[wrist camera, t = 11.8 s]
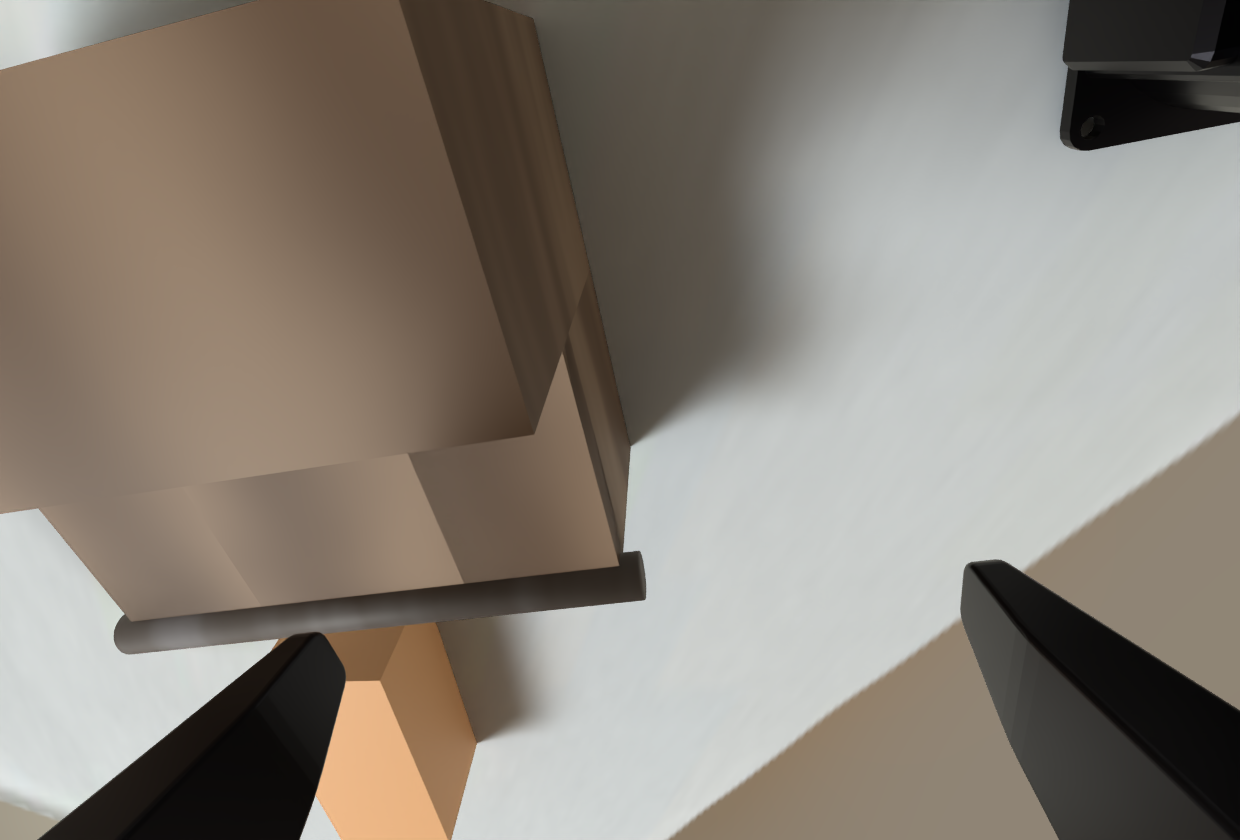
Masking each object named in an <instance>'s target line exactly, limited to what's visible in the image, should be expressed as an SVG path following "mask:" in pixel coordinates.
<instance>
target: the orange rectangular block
mask: <svg viewBox="0 0 1240 840" xmlns="http://www.w3.org/2000/svg"><path fill="white" fill-rule="evenodd" d="M324 635H325V636H326V638H327V639H328V641H329V642H330V644H331V646H332V647H333V649H334V651H335V652H336V654H337V656H338V657H339V659H340V660H341V662H342V664H343V665H344V668H345V671H346V683H345V688H344V692H343V696H342V699H341V703H340V707H339V711H338V715H337V718H336V722H335V726H334V730H333V734H332V737H331V741H330V745H329V749H328V753H327V757H326V760H325V764H324V768H323V772H322V775H321V778H320V782H319V785H318V789H317V792H316V797H317V799H318V800H319V802H320V804H321V805H322V807H323V809H324V810H325V812H326V814H327V816H328V817H329V819H330V821H331V822H332V824H333V826H334V828H335V829H336V831H337V833H338V834H339V836H340V838H341V840H451V838H452V835H453V831H454V827H455V823H456V820H457V816H458V812H459V808H460V805H461V801H462V797H463V793H464V790H465V786H466V782H467V778H468V775H469V771H470V767H471V763H472V760H473V756H474V752H475V748H476V745H477V742H476V739H475V736H474V734H473V731H472V728H471V725H470V722H469V719H468V716H467V713H466V710H465V707H464V704H463V701H462V698H461V695H460V692H459V689H458V686H457V683H456V680H455V677H454V674H453V671H452V668H451V665H450V662H449V660H448V657H447V654H446V651H445V648H444V645H443V642H442V639H441V636H440V633H439V630H438V627H437V624H436V622H433V623H423V624H414V625H405V626H395V627H386V628H376V629H367V630H357V631H348V632H338V633H329V634H324ZM286 639H287V638H281V639H279V640H278V641H277V643H276V644H275V646H274V647H273V649H274V648H276V647H277V646H278V645H279V644H281V643H282V642H283V641H284V640H286ZM273 649H272V650H273ZM272 650H271V651H272Z"/></svg>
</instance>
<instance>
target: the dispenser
mask: <svg viewBox="0 0 1240 840" xmlns="http://www.w3.org/2000/svg"><path fill="white" fill-rule="evenodd" d="M630 449H631V447H630V443H629V438H628V434H627V430H626V425H625V421H624V416H623V412H622V408H621V403H620V399H619V394H618V390H617V385H616V381H615V377H614V372H613V368H612V363H611V359H610V355H609V350H608V346H607V341H606V337H605V333H604V328H603V324H602V319H601V315H600V310H599V306H598V302H597V297H596V293H595V288H594V284H593V280H592V275H591V271H590V266H589V262H588V258H587V253H586V249H585V244H584V240H583V235H582V231H581V227H580V222H579V218H578V213H577V209H576V205H575V200H574V196H573V191H572V187H571V183H570V178H569V174H568V169H567V165H566V160H565V156H564V152H563V147H562V143H561V138H560V134H559V130H558V125H557V121H556V116H555V112H554V108H553V103H552V99H551V94H550V90H549V85H548V81H547V77H546V72H545V68H544V63H543V59H542V55H541V50H540V46H539V41H538V37H537V33H536V28H535V24H534V19H533V18H530V17H527V16H524V15H522V14H519V13H516V12H514V11H511V10H508V9H506V8H503V7H500V6H497V5H495V4H492V3H489V2H487V1H484V0H257V1H253V2H249V3H246V4H242V5H238V6H235V7H231V8H227V9H224V10H220V11H216V12H212V13H209V14H205V15H201V16H198V17H194V18H190V19H187V20H183V21H179V22H176V23H172V24H168V25H165V26H161V27H157V28H153V29H150V30H146V31H142V32H139V33H135V34H131V35H128V36H124V37H120V38H117V39H113V40H109V41H106V42H102V43H98V44H95V45H91V46H87V47H83V48H80V49H76V50H72V51H69V52H65V53H61V54H58V55H54V56H50V57H47V58H43V59H39V60H36V61H32V62H28V63H24V64H21V65H17V66H13V67H10V68H6V69H2V70H0V514H3V513H9V512H16V511H23V510H30V509H36V508H39V510H40V511H41V512H42V513H43V515H44V516H45V517H46V518H47V519H48V521H49V522H50V523H51V524H52V526H53V527H54V528H55V529H56V530H57V532H58V533H59V534H60V535H61V537H62V538H63V539H64V540H65V541H66V543H67V544H68V545H69V546H70V548H71V549H72V550H73V551H74V552H75V554H76V555H77V556H78V557H79V559H80V560H81V561H82V562H83V563H84V565H85V566H86V567H87V568H88V569H89V571H90V572H91V573H92V574H93V576H94V577H95V578H96V579H97V580H98V582H99V583H100V584H101V585H102V587H103V588H104V589H105V590H106V591H107V593H108V594H109V595H110V596H111V598H112V599H113V600H114V601H115V602H116V604H117V605H118V606H119V607H120V609H121V610H122V611H123V612H124V613H125V614H124V615H123V616H122V617H121V618H120V620H119V621H118V623H117V625H116V627H115V630H114V642H115V645H116V647H117V648H118V649H119V650H120V651H121V652H122V653H125V654H139V653H148V652H158V651H167V650H177V649H186V648H196V647H205V646H215V645H224V644H234V643H243V642H253V641H262V640H272V639H281V638H288V637H290V636H292V635H294V634H298V633H307V632H320V633H322V634H329V633H338V632H348V631H357V630H367V629H376V628H386V627H395V626H405V625H414V624H423V623H433V622H442V621H452V620H461V619H471V618H480V617H490V616H499V615H509V614H518V613H528V612H537V611H547V610H556V609H566V608H575V607H585V606H594V605H604V604H613V603H623V602H632V601H642V600H645V599H646V578H645V570H644V564H643V559H642V555H641V553H640V551H633V552H625V553H623V545H624V532H625V518H626V504H627V490H628V476H629V462H630Z"/></svg>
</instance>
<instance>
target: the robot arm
mask: <svg viewBox="0 0 1240 840" xmlns="http://www.w3.org/2000/svg"><path fill="white" fill-rule="evenodd" d="M1063 61H1064V63H1065V64H1066V65H1067V66H1068V72H1067V80H1066V88H1065V95H1064V103H1063V111H1062V118H1061V126H1060V139H1061V141H1062V142H1063V144H1064V145H1065V146H1067V147H1069V148H1071V149H1076V150H1083V151H1089V150H1094V149H1100V148H1105V147H1110V146H1115V145H1121V144H1126V143H1131V142H1136V141H1142V140H1147V139H1152V138H1157V137H1162V136H1168V135H1173V134H1178V133H1183V132H1189V131H1194V130H1199V129H1204V128H1210V127H1215V126H1220V125H1225V124H1230V123H1236V122H1240V0H1070V2H1069V10H1068V18H1067V26H1066V34H1065V42H1064V50H1063ZM1090 117H1093V118H1094V126H1093V129H1092V130H1091V132H1090V133H1089V134H1088V135H1086V136H1084V137H1082V136H1081V128H1082V125H1083V123H1084V122H1085V121H1086V120H1087V119H1088V118H1090ZM960 610H961V618H962V622H963V625H964V628H965V631H966V633H967V636H968V639H969V641H970V644H971V646H972V648H973V651H974V653H975V656H976V659H977V662H978V664H979V667H980V669H981V672H982V674H983V677H984V679H985V682H986V685H987V687H988V690H989V692H990V695H991V697H992V700H993V703H994V705H995V708H996V710H997V713H998V715H999V718H1000V721H1001V723H1002V725H1003V728H1004V730H1005V733H1006V735H1007V738H1008V740H1009V742H1010V745H1011V747H1012V748H1013V751H1014V753H1015V755H1016V757H1017V759H1018V761H1019V763H1020V765H1021V767H1022V769H1023V771H1024V773H1025V774H1026V777H1027V779H1028V781H1029V782H1030V784H1031V786H1032V788H1033V790H1034V792H1035V794H1036V796H1037V798H1038V800H1039V802H1040V804H1041V805H1042V807H1043V809H1044V811H1045V813H1046V815H1047V817H1048V819H1049V821H1050V823H1051V825H1052V827H1053V829H1054V831H1055V833H1056V834H1057V836H1058V838H1059V840H1240V710H1238V709H1237V708H1235V707H1234V706H1232V705H1231V704H1229V703H1227V702H1226V701H1224V700H1223V699H1221V698H1219V697H1218V696H1216V695H1215V694H1213V693H1212V692H1210V691H1208V690H1207V689H1205V688H1204V687H1202V686H1201V685H1199V684H1197V683H1196V682H1194V681H1193V680H1191V679H1190V678H1188V677H1186V676H1185V675H1183V674H1182V673H1180V672H1179V671H1177V670H1175V669H1174V668H1172V667H1171V666H1169V665H1167V664H1166V663H1164V662H1162V661H1161V660H1160V659H1158V658H1157V657H1155V656H1153V655H1152V654H1150V653H1149V652H1147V651H1145V650H1144V649H1142V648H1141V647H1139V646H1138V645H1136V644H1134V643H1133V642H1131V641H1130V640H1128V639H1126V638H1125V637H1123V636H1122V635H1120V634H1119V633H1117V632H1116V631H1114V630H1112V629H1111V628H1109V627H1108V626H1106V625H1105V624H1103V623H1101V622H1100V621H1098V620H1097V619H1095V618H1094V617H1092V616H1090V615H1089V614H1087V613H1086V612H1084V611H1082V610H1081V609H1079V608H1078V607H1076V606H1075V605H1073V604H1072V603H1070V602H1068V601H1067V600H1065V599H1064V598H1062V597H1060V596H1059V595H1057V594H1056V593H1054V592H1053V591H1051V590H1049V589H1048V588H1046V587H1045V586H1043V585H1042V584H1040V583H1039V582H1037V581H1035V580H1034V579H1032V578H1030V577H1029V576H1027V575H1026V574H1024V573H1023V572H1021V571H1020V570H1018V569H1016V568H1015V567H1013V566H1012V565H1010V564H1009V563H1007V562H1005V561H1002V560H986V561H977V562H970V563H968V564H967V565H966V567H965V569H964V574H963V585H962V596H961V607H960ZM345 683H346V671H345V668H344V665H343V664H342V662H341V660H340V659H339V657H338V656H337V654H336V652H335V651H334V649H333V647H332V646H331V644H330V642H329V641H328V639H327V638H326V636H325V635H324V634H322V633H320V632H307V633H298V634H294V635H292V636H290V637H288V638H287V639H286V640H284V641H283V642H282V643H281V644H279V645H278V646H277V647H276V648H274V649H273V650H272V651H271V652H270V653H268V654H267V655H266V656H265V657H263V658H262V659H261V660H260V661H258V662H257V663H256V664H255V665H253V666H252V667H251V668H250V669H248V670H247V671H246V672H245V673H243V674H242V675H241V676H240V677H239V678H237V679H236V680H235V681H234V682H232V683H231V684H230V685H229V686H227V687H226V688H225V689H224V690H222V691H221V692H220V693H219V694H217V695H216V696H215V697H214V698H212V699H211V700H210V701H209V702H207V703H206V704H205V705H204V706H203V707H201V708H200V709H199V710H198V711H196V712H195V713H194V714H193V715H191V716H190V717H189V718H188V719H186V720H185V721H184V722H183V723H181V724H180V725H179V726H178V727H176V728H175V729H174V730H173V731H171V732H170V733H169V734H168V735H167V736H165V737H164V738H163V739H162V740H160V741H159V742H158V743H157V744H155V745H154V746H153V747H152V748H150V749H149V750H148V751H147V752H145V753H144V754H143V755H142V756H140V757H139V758H138V759H137V760H136V761H134V762H133V763H132V764H131V765H129V766H128V767H127V768H126V769H124V770H123V771H122V772H121V773H119V774H118V775H117V776H116V777H114V778H113V779H112V780H111V781H109V782H108V783H107V784H106V785H104V786H103V787H102V788H101V789H100V790H98V791H97V792H96V793H95V794H93V795H92V796H91V797H90V798H88V799H87V800H86V801H85V802H83V803H82V804H81V805H80V806H78V807H77V808H76V809H75V810H73V811H72V812H71V813H70V814H69V815H67V816H66V817H65V818H64V819H62V820H61V821H60V822H59V823H57V824H56V825H55V826H54V827H52V828H51V829H50V830H49V831H47V832H46V833H45V834H44V835H43V836H42V837H40V838H39V839H37V840H300V837H301V834H302V832H303V829H304V826H305V823H306V821H307V818H308V815H309V812H310V810H311V807H312V804H313V801H314V798H315V795H316V792H317V789H318V785H319V782H320V778H321V775H322V772H323V768H324V764H325V760H326V757H327V753H328V749H329V745H330V741H331V737H332V734H333V730H334V726H335V722H336V718H337V715H338V711H339V707H340V703H341V699H342V696H343V692H344V688H345Z"/></svg>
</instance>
